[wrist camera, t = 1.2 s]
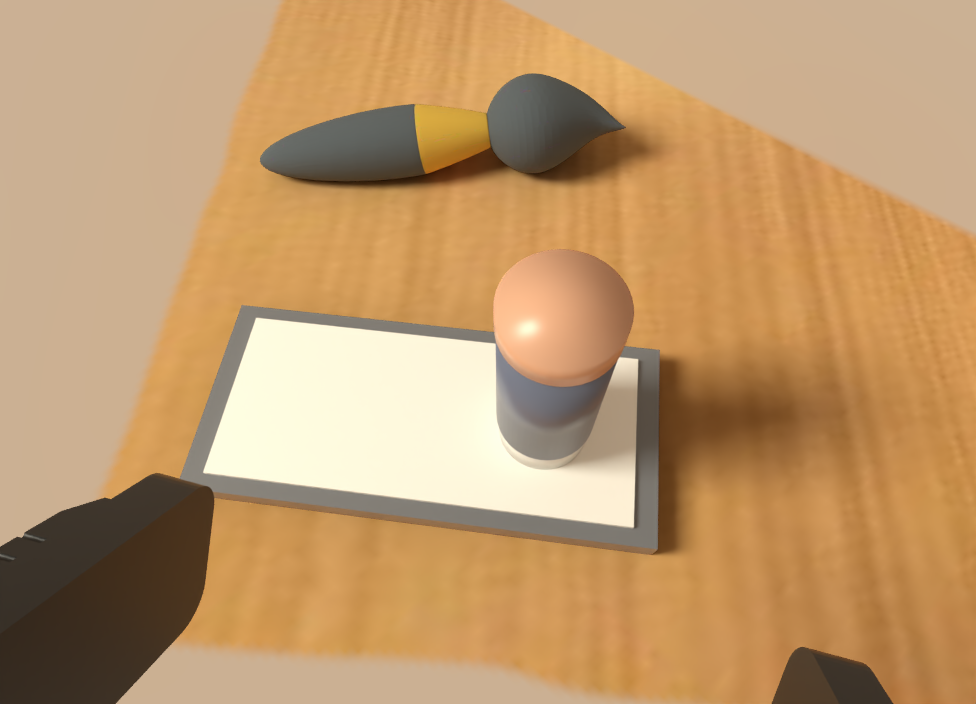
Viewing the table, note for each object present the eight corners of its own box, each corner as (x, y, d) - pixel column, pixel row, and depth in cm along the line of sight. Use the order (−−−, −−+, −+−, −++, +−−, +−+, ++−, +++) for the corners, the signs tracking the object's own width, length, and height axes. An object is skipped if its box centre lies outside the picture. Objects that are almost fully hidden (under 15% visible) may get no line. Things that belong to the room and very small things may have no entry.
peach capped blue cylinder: (593, 389, 28) (635, 256, 20) (587, 479, 27) (632, 376, 18) (501, 379, 29) (502, 243, 20) (489, 466, 27) (484, 360, 18)
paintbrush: (268, 228, 35) (234, 161, 30) (267, 161, 37) (236, 89, 33) (622, 179, 36) (639, 108, 32) (600, 117, 38) (613, 43, 34)
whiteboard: (653, 361, 31) (660, 348, 29) (651, 554, 26) (658, 548, 25) (250, 317, 32) (240, 303, 31) (188, 494, 28) (174, 485, 27)
